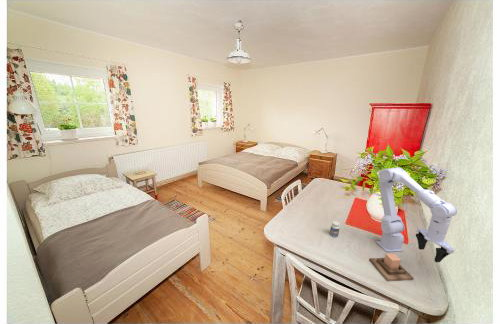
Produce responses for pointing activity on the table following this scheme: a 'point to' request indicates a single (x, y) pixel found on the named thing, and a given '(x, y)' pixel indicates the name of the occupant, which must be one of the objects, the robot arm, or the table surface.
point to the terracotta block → (392, 261)
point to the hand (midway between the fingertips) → (428, 255)
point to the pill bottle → (335, 229)
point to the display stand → (390, 271)
